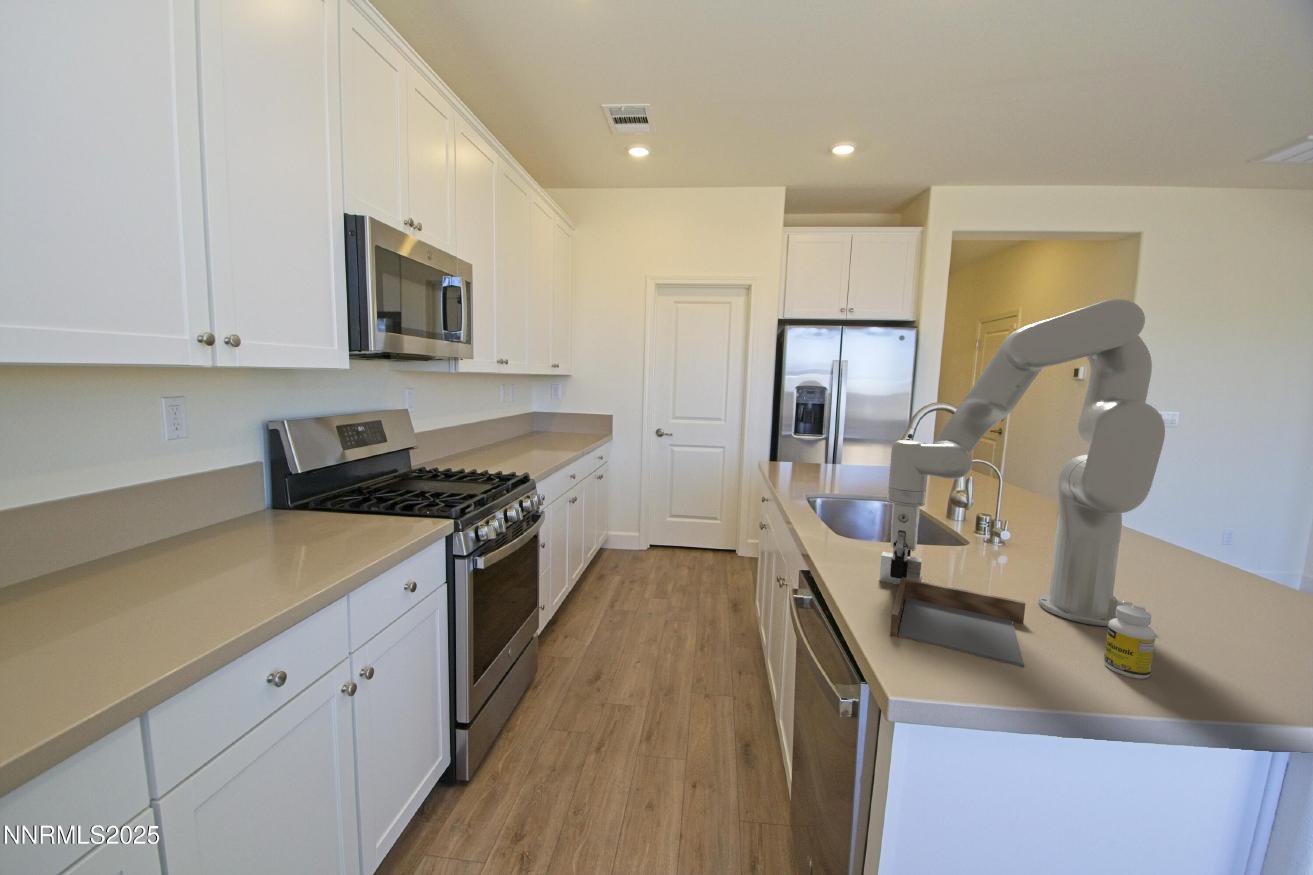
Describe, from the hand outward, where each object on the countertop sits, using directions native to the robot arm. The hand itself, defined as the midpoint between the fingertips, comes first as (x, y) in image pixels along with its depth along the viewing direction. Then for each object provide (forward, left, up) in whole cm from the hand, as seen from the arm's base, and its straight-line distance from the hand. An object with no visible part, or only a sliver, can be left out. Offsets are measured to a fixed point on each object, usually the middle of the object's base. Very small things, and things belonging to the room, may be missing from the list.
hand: (899, 571), depth 114 cm
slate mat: (-11, +19, -2) cm, 22 cm away
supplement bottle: (-34, +20, -3) cm, 40 cm away
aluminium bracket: (0, -3, -3) cm, 4 cm away
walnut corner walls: (-11, +19, -2) cm, 22 cm away
